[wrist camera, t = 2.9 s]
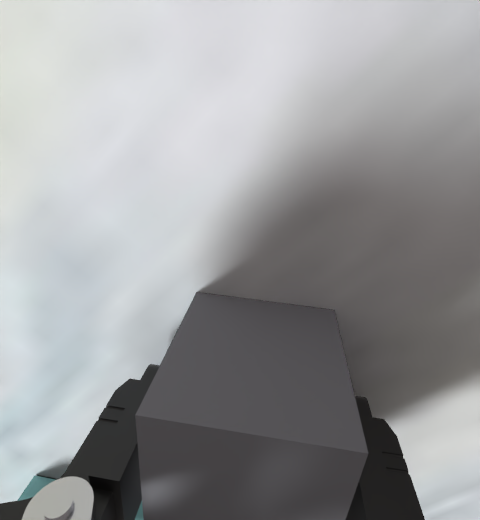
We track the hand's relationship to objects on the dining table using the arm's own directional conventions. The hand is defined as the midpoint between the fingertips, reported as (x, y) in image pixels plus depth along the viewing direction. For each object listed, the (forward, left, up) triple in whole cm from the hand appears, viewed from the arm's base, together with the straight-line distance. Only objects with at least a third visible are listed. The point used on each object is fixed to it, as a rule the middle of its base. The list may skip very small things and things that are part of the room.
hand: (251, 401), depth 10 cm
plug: (0, 0, -1) cm, 1 cm away
